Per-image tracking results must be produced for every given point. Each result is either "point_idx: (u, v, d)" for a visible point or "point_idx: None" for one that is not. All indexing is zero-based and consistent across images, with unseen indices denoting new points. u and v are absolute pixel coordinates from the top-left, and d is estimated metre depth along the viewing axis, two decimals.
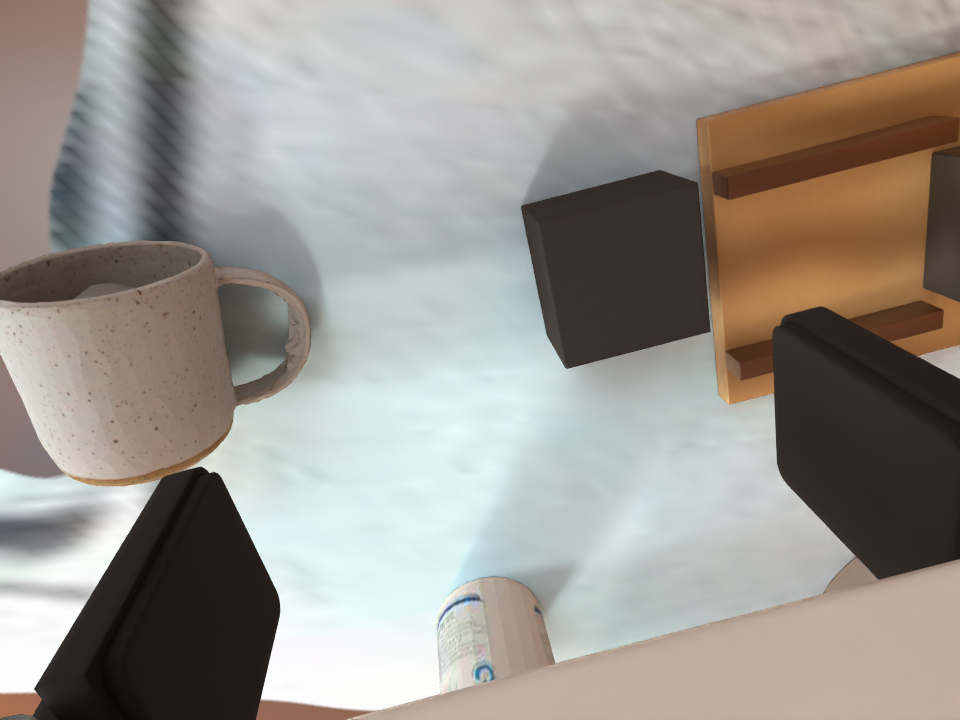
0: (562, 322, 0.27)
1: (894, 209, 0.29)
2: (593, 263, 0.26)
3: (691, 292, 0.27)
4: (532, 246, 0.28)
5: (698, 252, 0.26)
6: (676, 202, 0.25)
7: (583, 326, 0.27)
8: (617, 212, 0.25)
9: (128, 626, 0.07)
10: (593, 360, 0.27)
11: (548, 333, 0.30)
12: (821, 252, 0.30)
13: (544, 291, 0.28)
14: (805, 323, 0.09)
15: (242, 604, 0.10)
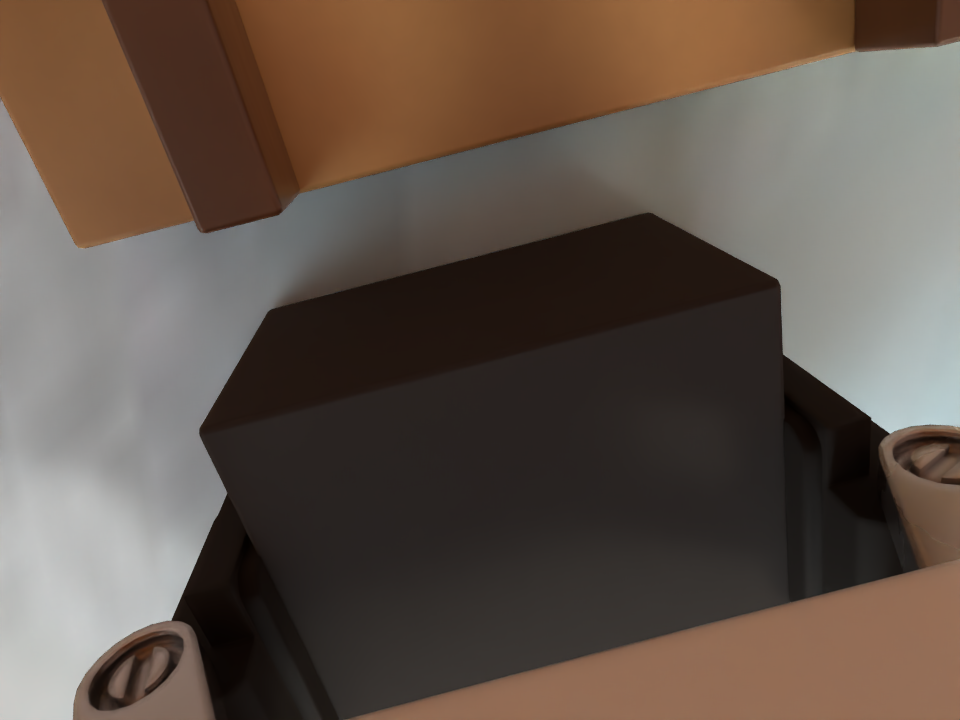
0: None
1: None
2: (484, 673, 0.09)
3: (608, 383, 0.07)
4: None
5: (456, 387, 0.07)
6: (276, 490, 0.07)
7: None
8: (326, 641, 0.08)
9: None
10: None
11: None
12: None
13: None
14: None
15: None
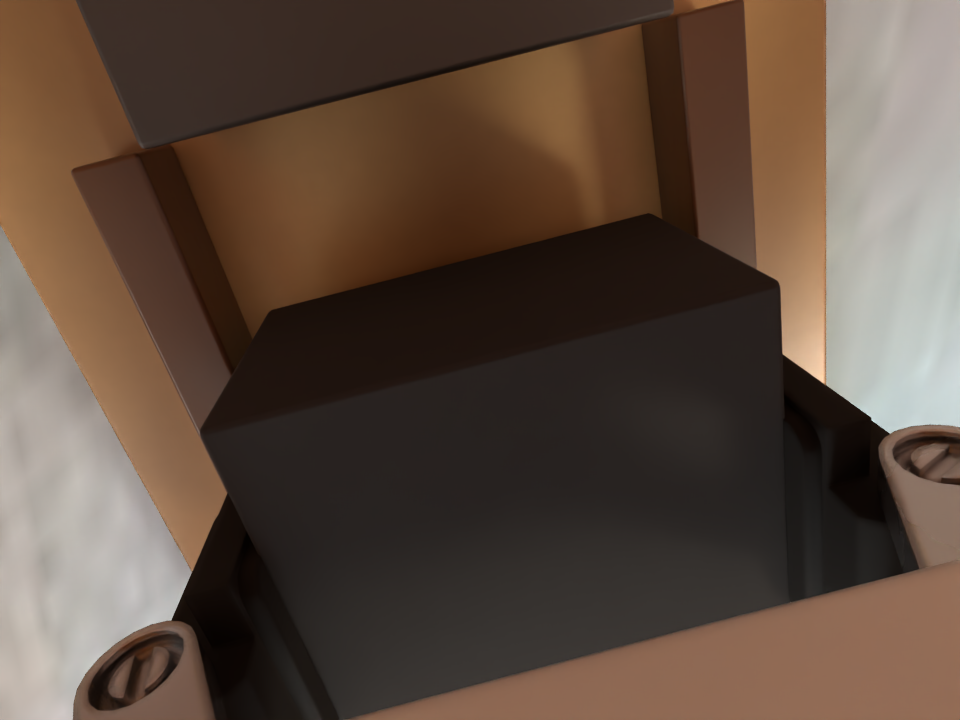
0: None
1: (372, 195, 0.11)
2: (484, 673, 0.09)
3: (608, 384, 0.07)
4: None
5: (456, 388, 0.07)
6: (277, 491, 0.07)
7: None
8: (326, 641, 0.08)
9: None
10: None
11: None
12: None
13: None
14: None
15: None
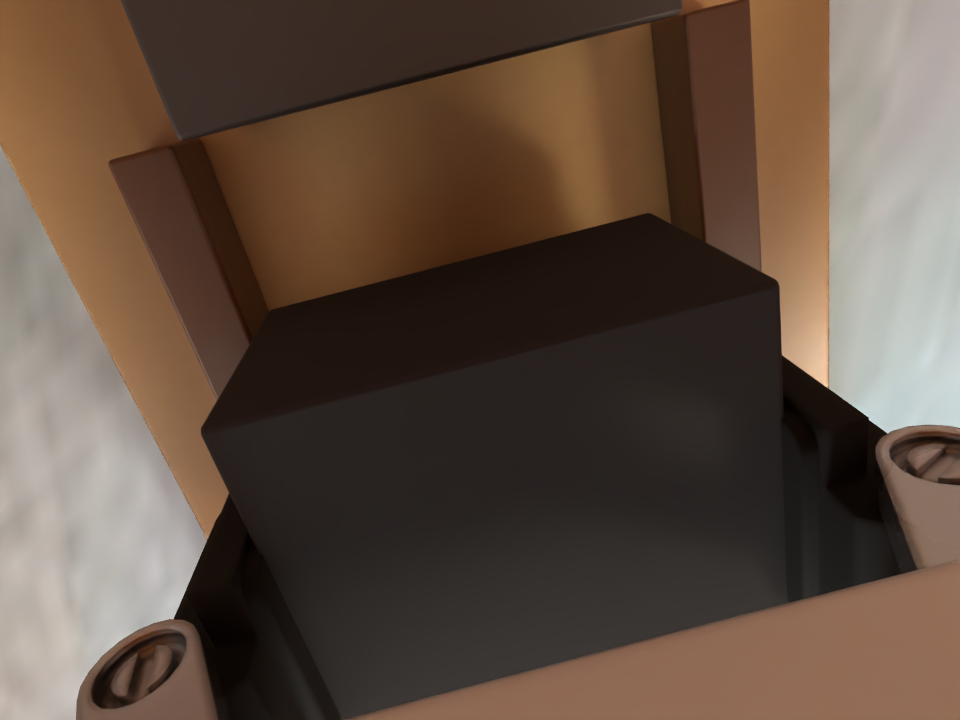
0: None
1: (390, 187, 0.11)
2: (484, 672, 0.09)
3: (608, 383, 0.07)
4: None
5: (457, 386, 0.07)
6: (277, 489, 0.07)
7: None
8: (327, 640, 0.08)
9: None
10: None
11: None
12: None
13: None
14: None
15: None
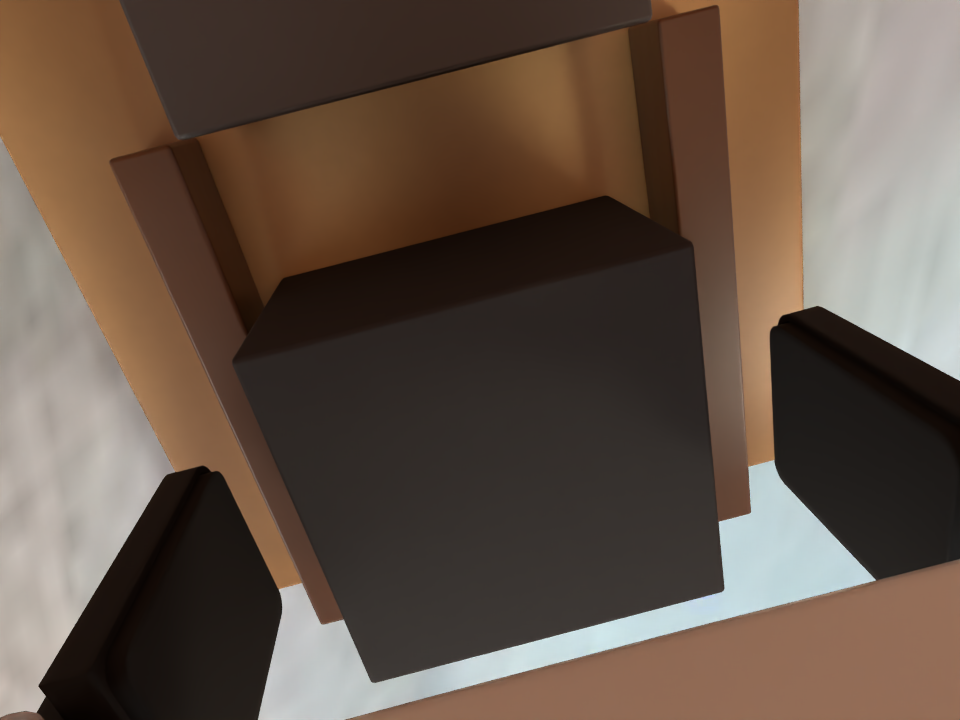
0: (604, 615, 0.11)
1: (380, 185, 0.12)
2: (462, 574, 0.10)
3: (558, 325, 0.09)
4: None
5: (435, 327, 0.09)
6: (293, 411, 0.09)
7: (621, 572, 0.11)
8: (332, 543, 0.10)
9: (131, 624, 0.07)
10: (715, 540, 0.11)
11: None
12: None
13: None
14: (802, 323, 0.09)
15: (244, 602, 0.10)
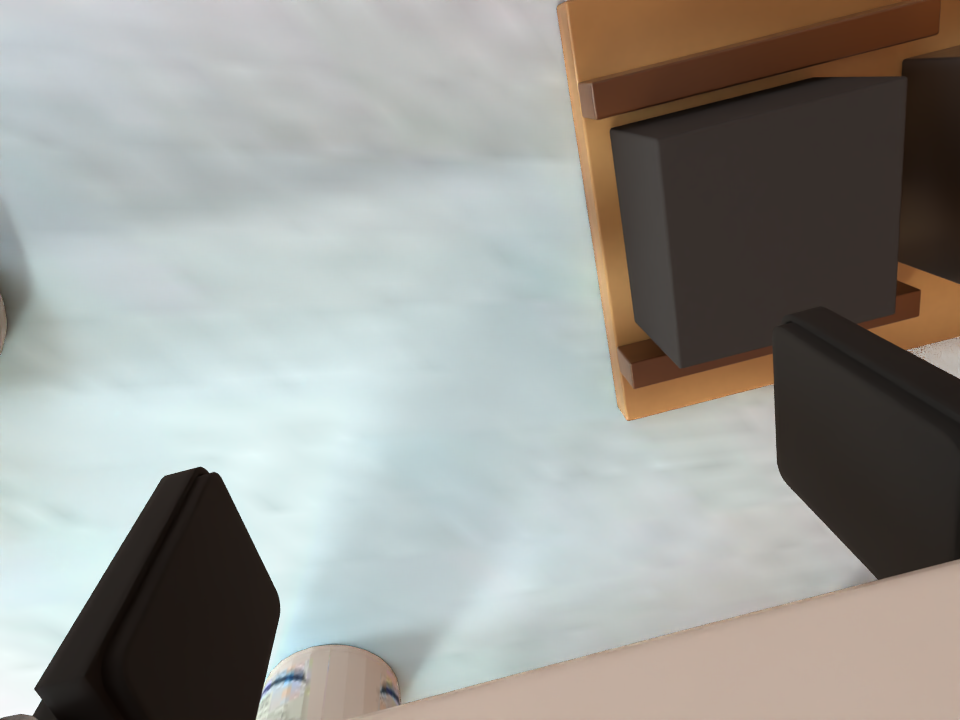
0: (680, 297, 0.17)
1: None
2: (735, 205, 0.17)
3: (875, 253, 0.18)
4: (628, 187, 0.19)
5: (893, 190, 0.17)
6: (871, 108, 0.16)
7: (711, 304, 0.18)
8: (780, 122, 0.16)
9: (128, 626, 0.07)
10: (721, 356, 0.18)
11: (640, 318, 0.21)
12: None
13: (646, 253, 0.19)
14: (805, 323, 0.09)
15: (242, 604, 0.10)
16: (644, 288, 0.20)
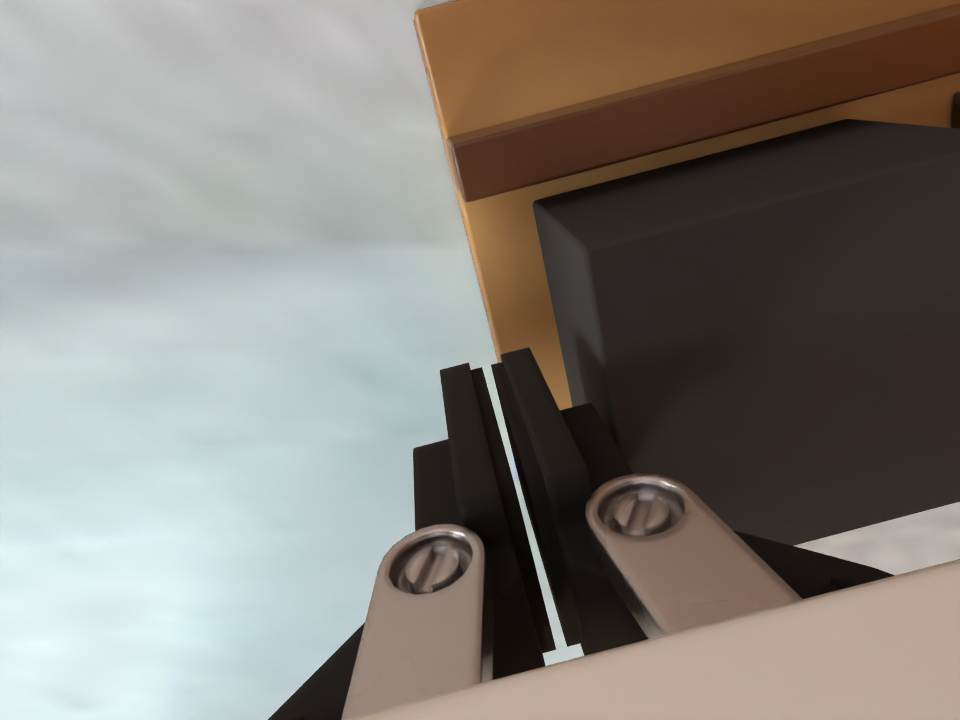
0: None
1: None
2: (725, 349, 0.10)
3: (955, 412, 0.11)
4: (559, 294, 0.12)
5: None
6: (959, 188, 0.09)
7: None
8: (802, 216, 0.09)
9: (500, 463, 0.08)
10: None
11: None
12: None
13: (588, 400, 0.12)
14: (506, 363, 0.10)
15: None
16: None
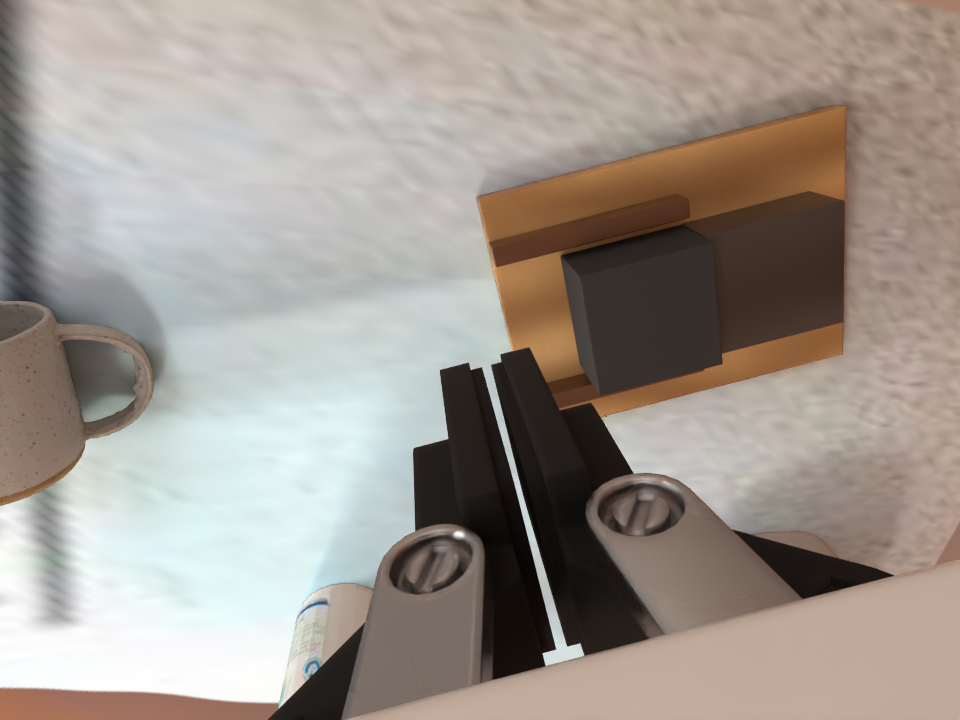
0: (597, 356, 0.31)
1: None
2: (624, 308, 0.30)
3: (707, 331, 0.31)
4: (570, 290, 0.33)
5: (712, 299, 0.31)
6: (695, 258, 0.30)
7: (615, 360, 0.32)
8: (646, 266, 0.30)
9: (500, 463, 0.08)
10: (623, 388, 0.32)
11: (581, 363, 0.35)
12: None
13: (580, 329, 0.33)
14: (506, 363, 0.10)
15: None
16: (582, 347, 0.34)
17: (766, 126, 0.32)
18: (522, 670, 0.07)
